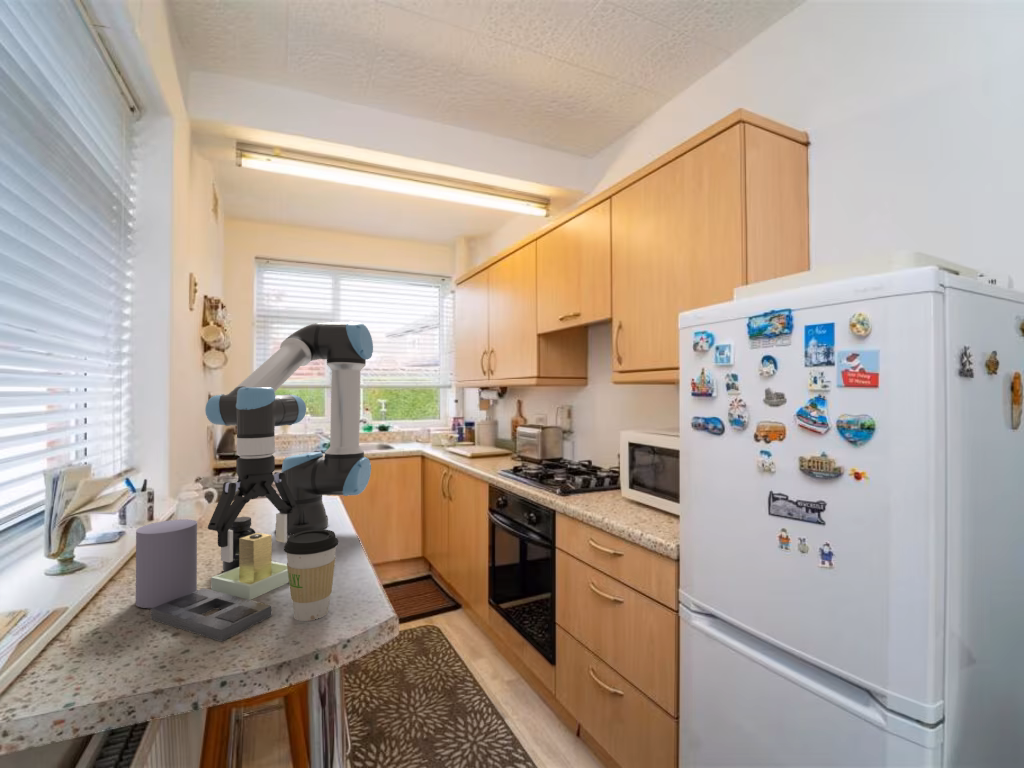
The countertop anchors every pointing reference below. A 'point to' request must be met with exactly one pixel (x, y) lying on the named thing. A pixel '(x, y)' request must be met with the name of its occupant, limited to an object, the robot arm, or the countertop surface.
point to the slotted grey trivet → (217, 625)
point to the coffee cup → (311, 572)
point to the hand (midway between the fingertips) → (255, 550)
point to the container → (165, 561)
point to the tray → (232, 586)
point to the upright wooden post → (255, 558)
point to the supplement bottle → (239, 530)
